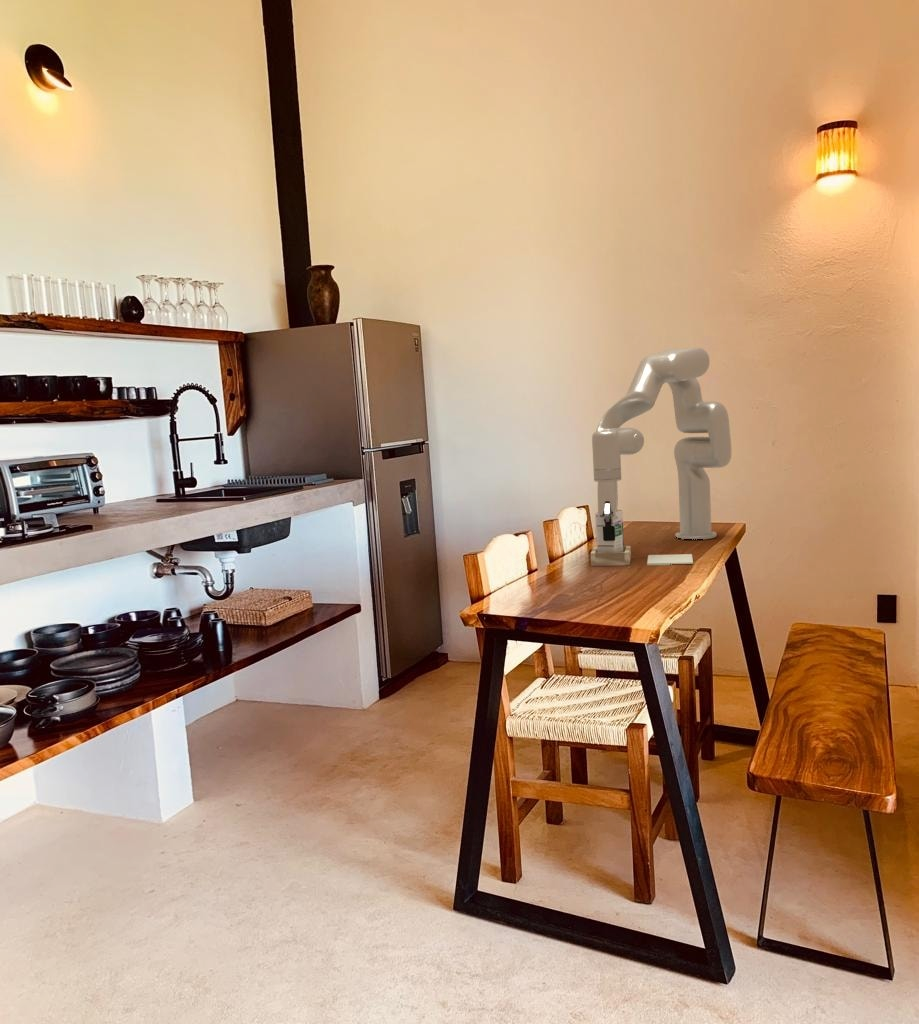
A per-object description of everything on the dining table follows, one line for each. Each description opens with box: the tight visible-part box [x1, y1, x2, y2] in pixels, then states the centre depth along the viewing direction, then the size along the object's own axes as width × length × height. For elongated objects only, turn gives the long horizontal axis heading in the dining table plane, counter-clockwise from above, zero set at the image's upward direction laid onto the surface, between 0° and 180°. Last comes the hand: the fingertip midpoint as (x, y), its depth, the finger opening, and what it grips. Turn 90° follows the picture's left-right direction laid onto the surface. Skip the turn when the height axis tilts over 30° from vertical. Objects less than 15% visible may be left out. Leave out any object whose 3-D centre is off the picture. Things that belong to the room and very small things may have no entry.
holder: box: [590, 545, 632, 567], centre depth 239 cm, size 10×10×4 cm
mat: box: [646, 553, 694, 566], centre depth 236 cm, size 12×12×1 cm
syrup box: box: [594, 509, 625, 553], centre depth 239 cm, size 6×6×14 cm
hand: (610, 537), depth 239 cm, fingers closed on syrup box, 7 cm apart
